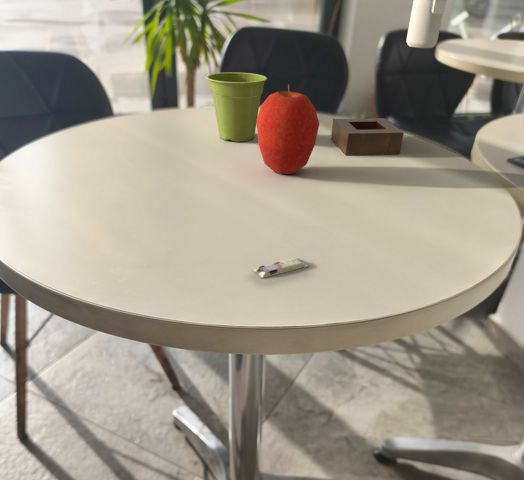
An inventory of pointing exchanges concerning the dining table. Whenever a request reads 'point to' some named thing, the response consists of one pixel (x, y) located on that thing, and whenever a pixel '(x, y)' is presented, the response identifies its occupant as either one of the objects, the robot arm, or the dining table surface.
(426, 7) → the beverage can
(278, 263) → the granola bar
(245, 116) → the plant pot
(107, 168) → the dining table surface
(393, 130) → the holder
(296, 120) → the apple
